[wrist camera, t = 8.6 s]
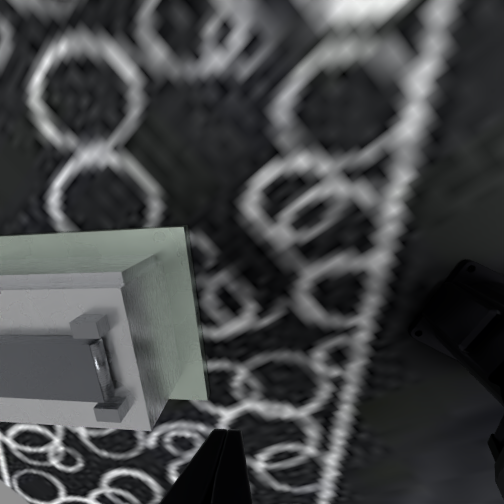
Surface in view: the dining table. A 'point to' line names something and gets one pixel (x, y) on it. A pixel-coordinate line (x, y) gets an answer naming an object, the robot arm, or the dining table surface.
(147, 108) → the dining table surface
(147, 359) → the board
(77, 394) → the dark grey flat bar
